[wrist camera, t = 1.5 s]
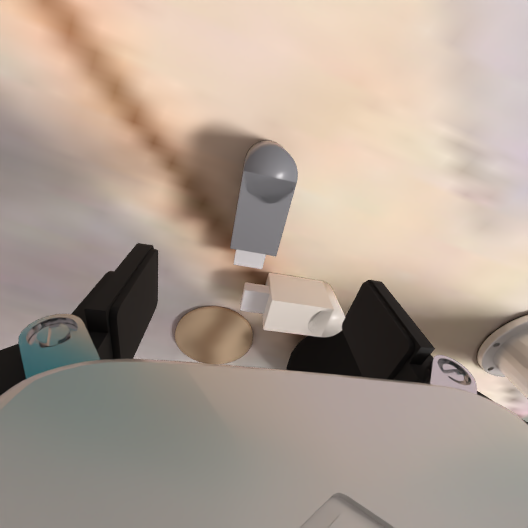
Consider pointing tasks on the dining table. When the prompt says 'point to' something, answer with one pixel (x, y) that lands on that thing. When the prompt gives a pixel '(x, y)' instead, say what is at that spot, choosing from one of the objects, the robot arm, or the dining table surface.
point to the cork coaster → (214, 335)
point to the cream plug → (294, 305)
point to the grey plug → (263, 203)
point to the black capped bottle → (324, 356)
